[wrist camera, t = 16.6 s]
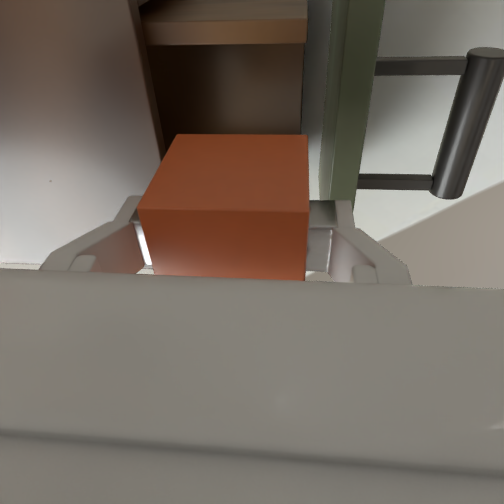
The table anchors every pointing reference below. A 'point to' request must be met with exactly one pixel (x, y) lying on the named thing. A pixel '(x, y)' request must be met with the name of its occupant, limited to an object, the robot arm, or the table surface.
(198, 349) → the robot arm
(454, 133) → the drawer
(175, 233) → the block
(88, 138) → the cabinet
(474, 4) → the table surface
